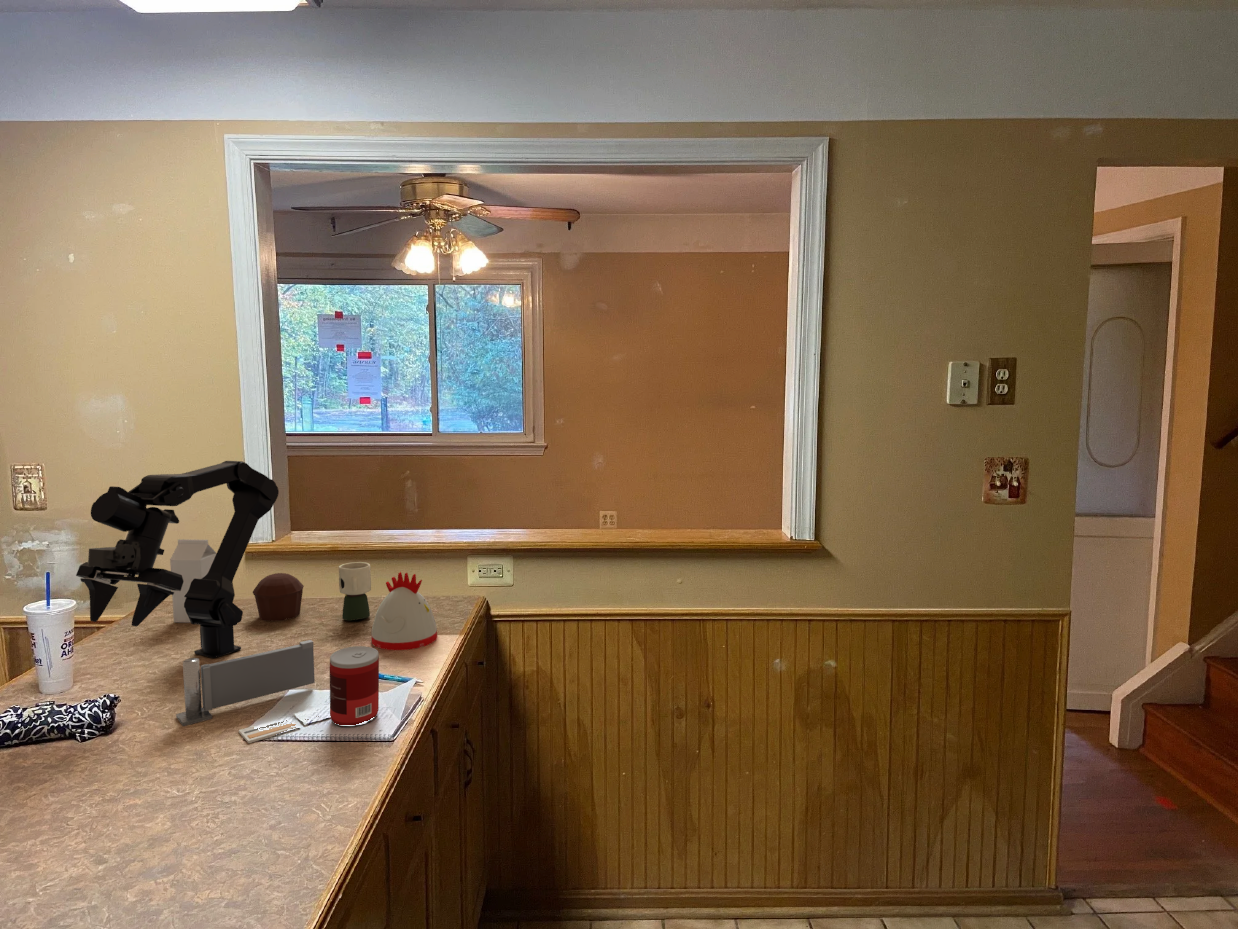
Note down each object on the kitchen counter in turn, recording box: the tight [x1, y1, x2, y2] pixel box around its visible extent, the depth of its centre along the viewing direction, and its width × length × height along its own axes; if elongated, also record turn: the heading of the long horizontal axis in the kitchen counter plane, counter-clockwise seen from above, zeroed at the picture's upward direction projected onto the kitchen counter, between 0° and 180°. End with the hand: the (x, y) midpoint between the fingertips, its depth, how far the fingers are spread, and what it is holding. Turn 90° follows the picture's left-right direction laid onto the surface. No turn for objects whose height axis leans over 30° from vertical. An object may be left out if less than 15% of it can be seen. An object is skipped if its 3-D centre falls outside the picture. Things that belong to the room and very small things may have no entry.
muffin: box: [252, 572, 305, 622], centre depth 186 cm, size 12×11×10 cm
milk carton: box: [169, 538, 217, 623], centre depth 183 cm, size 7×7×19 cm
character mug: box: [338, 561, 372, 622], centre depth 184 cm, size 11×7×13 cm, turn 16°
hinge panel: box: [200, 639, 316, 712], centre depth 138 cm, size 18×2×8 cm, turn 132°
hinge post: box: [175, 657, 213, 727], centre depth 130 cm, size 4×4×10 cm
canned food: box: [329, 645, 380, 726], centre depth 131 cm, size 8×8×11 cm
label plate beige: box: [238, 720, 296, 744], centre depth 127 cm, size 8×5×1 cm, turn 132°
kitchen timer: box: [370, 571, 438, 651], centre depth 170 cm, size 14×14×15 cm
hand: (113, 623), depth 138 cm, fingers open, 9 cm apart
